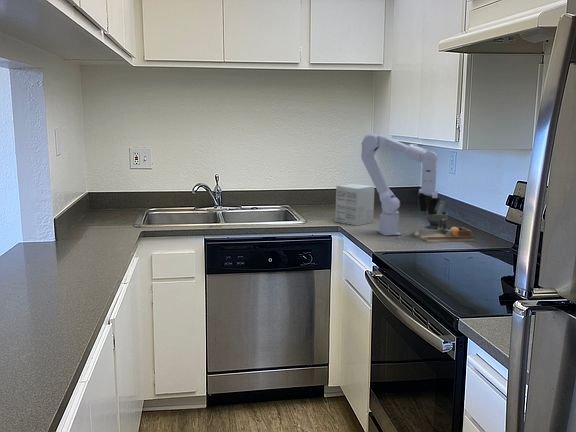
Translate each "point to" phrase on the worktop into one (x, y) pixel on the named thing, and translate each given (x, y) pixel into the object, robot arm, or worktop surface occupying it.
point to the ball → (454, 231)
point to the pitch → (441, 235)
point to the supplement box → (354, 204)
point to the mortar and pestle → (437, 216)
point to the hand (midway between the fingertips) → (426, 212)
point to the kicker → (444, 226)
